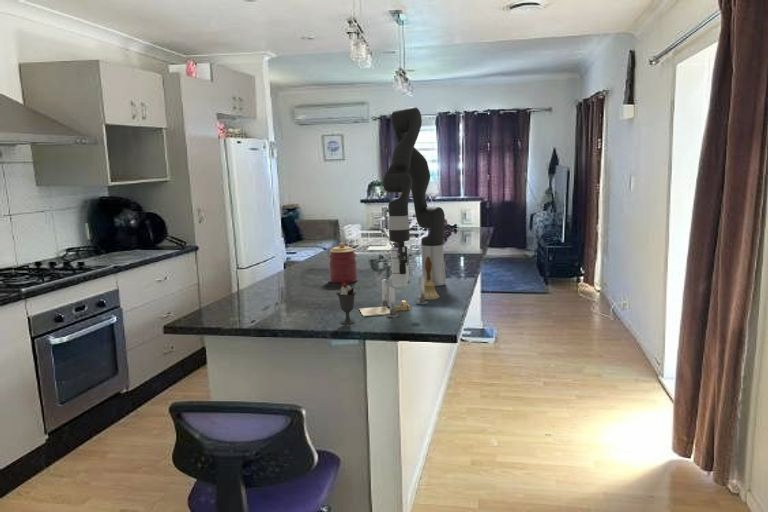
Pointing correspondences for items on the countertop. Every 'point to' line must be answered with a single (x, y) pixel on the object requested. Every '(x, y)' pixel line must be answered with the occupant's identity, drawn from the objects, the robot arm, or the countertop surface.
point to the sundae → (346, 301)
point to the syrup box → (398, 278)
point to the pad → (374, 311)
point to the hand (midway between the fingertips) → (400, 272)
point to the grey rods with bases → (404, 303)
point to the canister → (342, 264)
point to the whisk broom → (429, 282)
